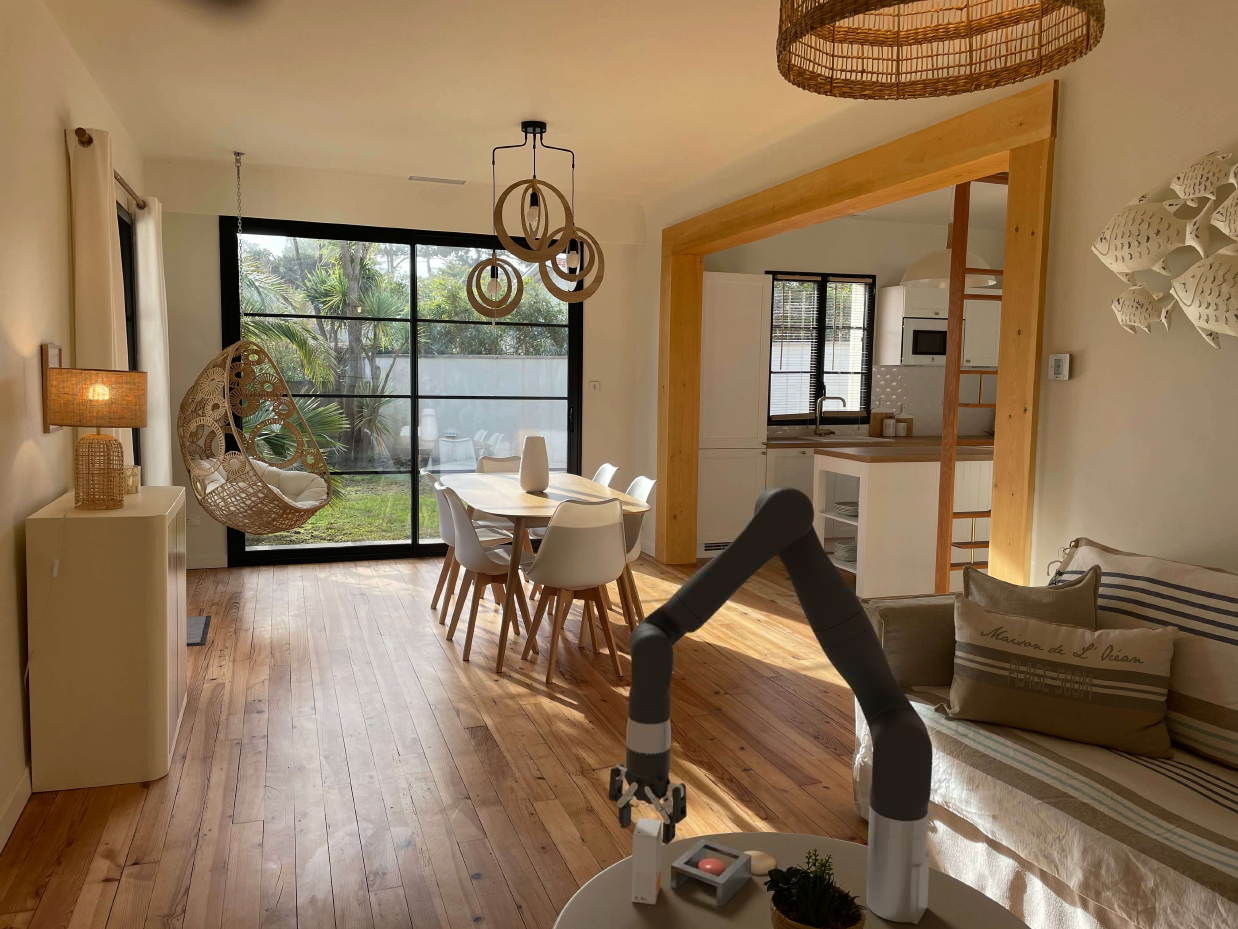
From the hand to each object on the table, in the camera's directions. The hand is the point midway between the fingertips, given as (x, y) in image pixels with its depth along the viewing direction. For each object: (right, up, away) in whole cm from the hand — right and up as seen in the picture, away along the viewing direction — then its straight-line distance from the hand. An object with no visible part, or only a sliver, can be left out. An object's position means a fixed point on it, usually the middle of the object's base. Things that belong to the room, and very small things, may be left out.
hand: (646, 834), depth 149 cm
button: (+12, -9, +4) cm, 15 cm away
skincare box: (0, -11, +1) cm, 11 cm away
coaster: (+20, -10, +10) cm, 25 cm away
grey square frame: (+12, -10, +5) cm, 16 cm away
